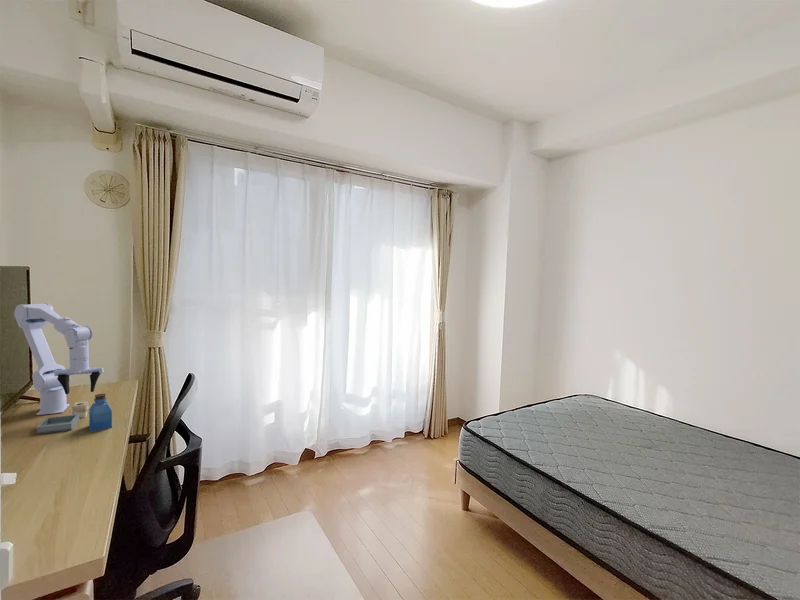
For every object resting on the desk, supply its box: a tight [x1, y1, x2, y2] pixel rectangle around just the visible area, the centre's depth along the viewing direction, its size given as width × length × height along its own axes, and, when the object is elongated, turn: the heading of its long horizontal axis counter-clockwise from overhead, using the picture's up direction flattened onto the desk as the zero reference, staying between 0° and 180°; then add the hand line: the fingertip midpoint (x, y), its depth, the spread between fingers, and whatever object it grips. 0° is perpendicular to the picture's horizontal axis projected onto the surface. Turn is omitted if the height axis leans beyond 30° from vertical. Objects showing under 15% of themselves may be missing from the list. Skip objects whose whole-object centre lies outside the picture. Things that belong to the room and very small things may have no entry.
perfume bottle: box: [88, 393, 113, 432], centre depth 139 cm, size 6×6×12 cm
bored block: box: [71, 401, 89, 419], centre depth 147 cm, size 4×4×5 cm
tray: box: [36, 414, 80, 435], centre depth 137 cm, size 9×9×2 cm
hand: (80, 392), depth 146 cm, fingers open, 7 cm apart
